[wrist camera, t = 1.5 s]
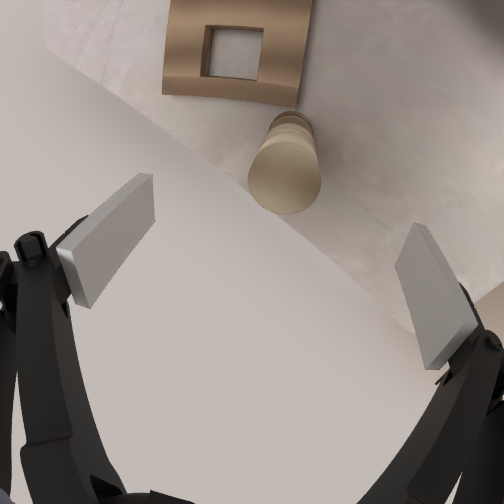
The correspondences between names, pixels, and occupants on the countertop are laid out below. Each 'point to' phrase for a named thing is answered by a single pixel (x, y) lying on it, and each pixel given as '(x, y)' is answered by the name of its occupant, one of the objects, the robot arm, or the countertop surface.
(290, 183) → the peg
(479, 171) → the countertop surface
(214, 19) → the board
